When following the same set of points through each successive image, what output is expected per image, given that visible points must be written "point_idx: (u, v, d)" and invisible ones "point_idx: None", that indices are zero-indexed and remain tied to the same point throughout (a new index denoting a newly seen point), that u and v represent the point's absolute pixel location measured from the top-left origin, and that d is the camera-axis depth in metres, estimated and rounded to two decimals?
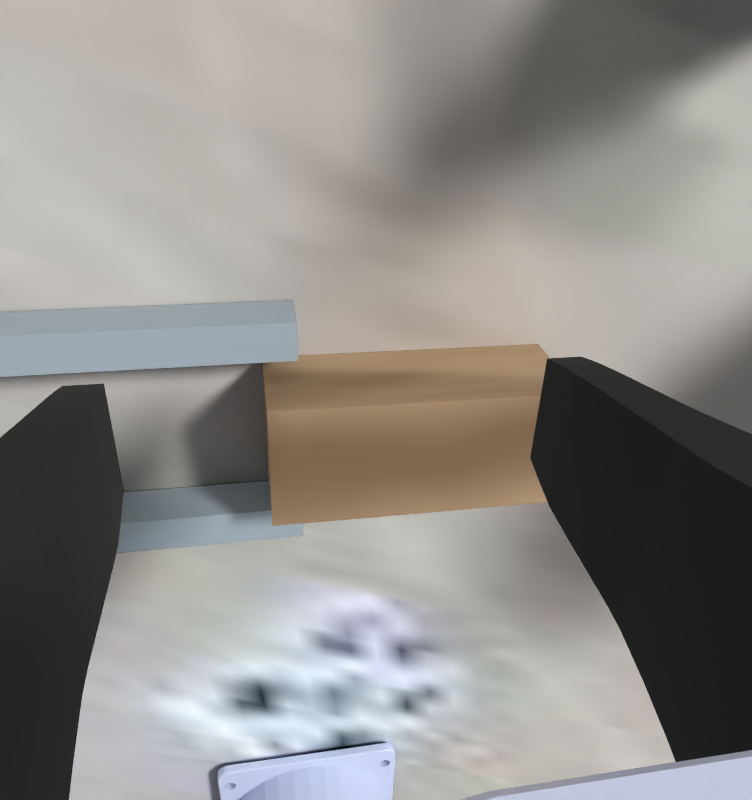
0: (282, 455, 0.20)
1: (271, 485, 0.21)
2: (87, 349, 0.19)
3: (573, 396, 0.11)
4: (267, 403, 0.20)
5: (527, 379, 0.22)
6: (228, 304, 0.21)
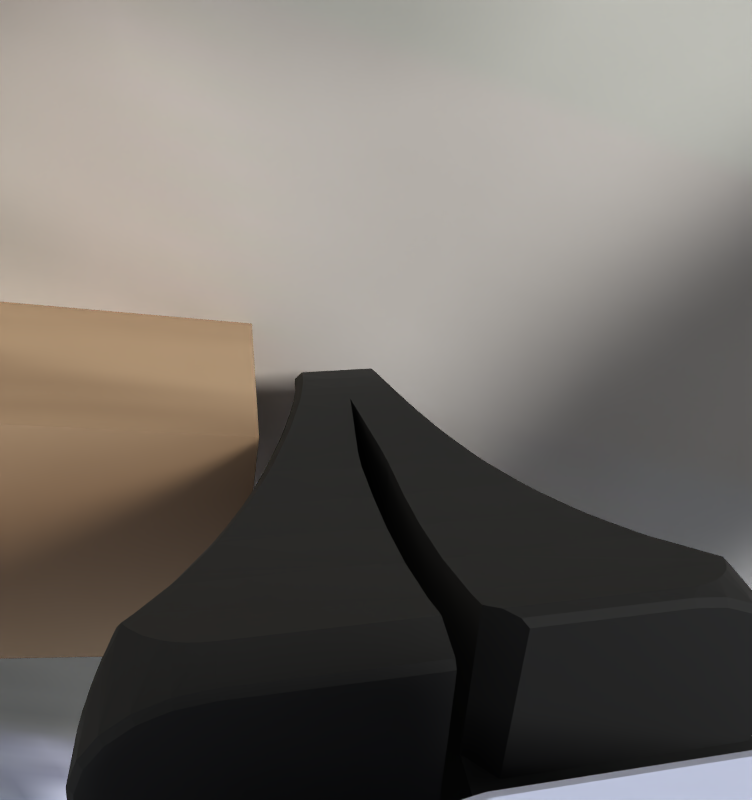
0: None
1: None
2: None
3: None
4: None
5: (165, 393, 0.10)
6: None
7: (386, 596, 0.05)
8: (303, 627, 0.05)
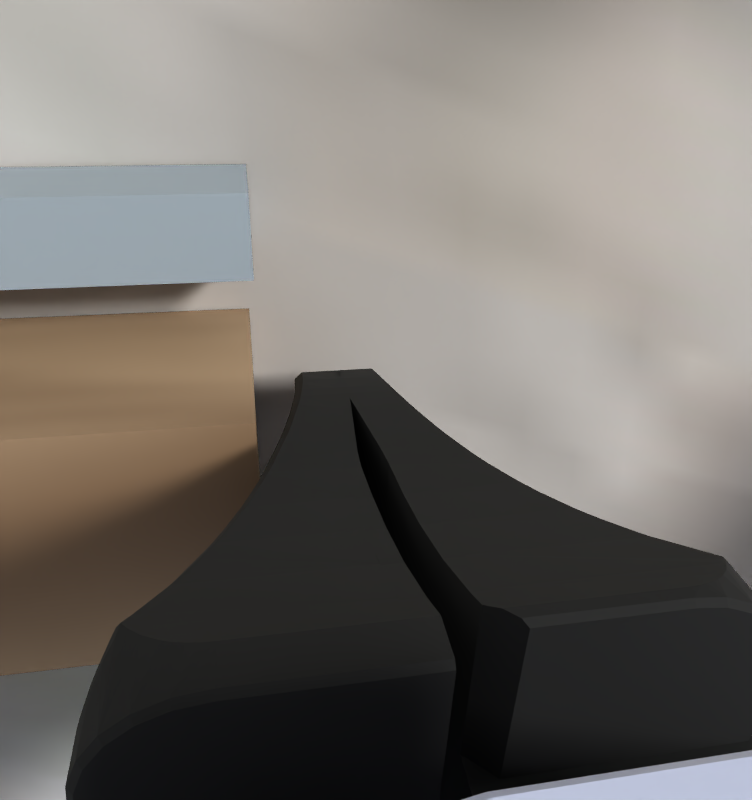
0: None
1: None
2: None
3: None
4: None
5: (160, 390, 0.10)
6: (113, 167, 0.10)
7: (386, 596, 0.05)
8: (301, 627, 0.05)
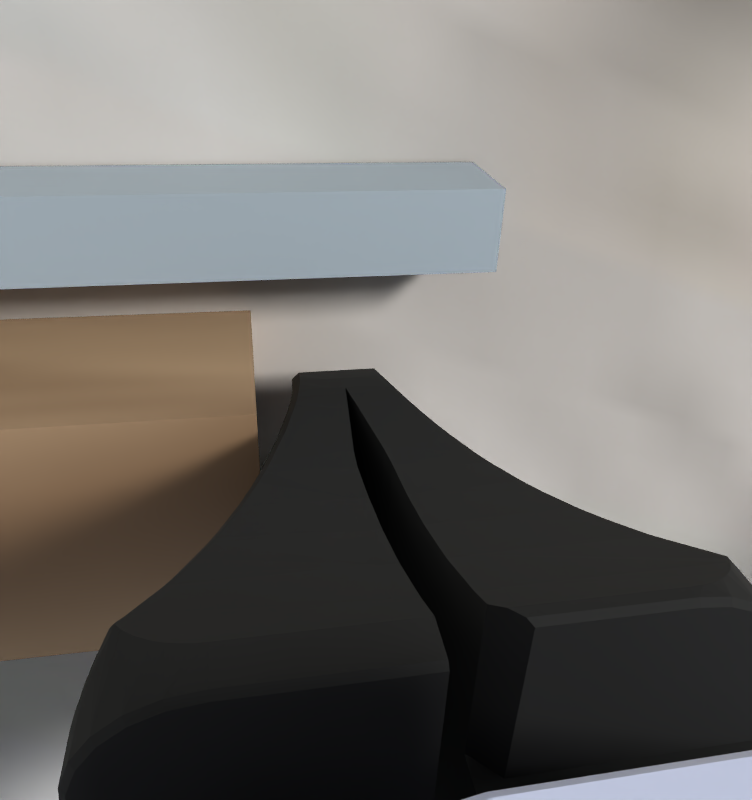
0: None
1: None
2: (80, 235, 0.09)
3: None
4: None
5: (163, 383, 0.10)
6: (355, 164, 0.11)
7: (380, 596, 0.05)
8: (296, 628, 0.05)
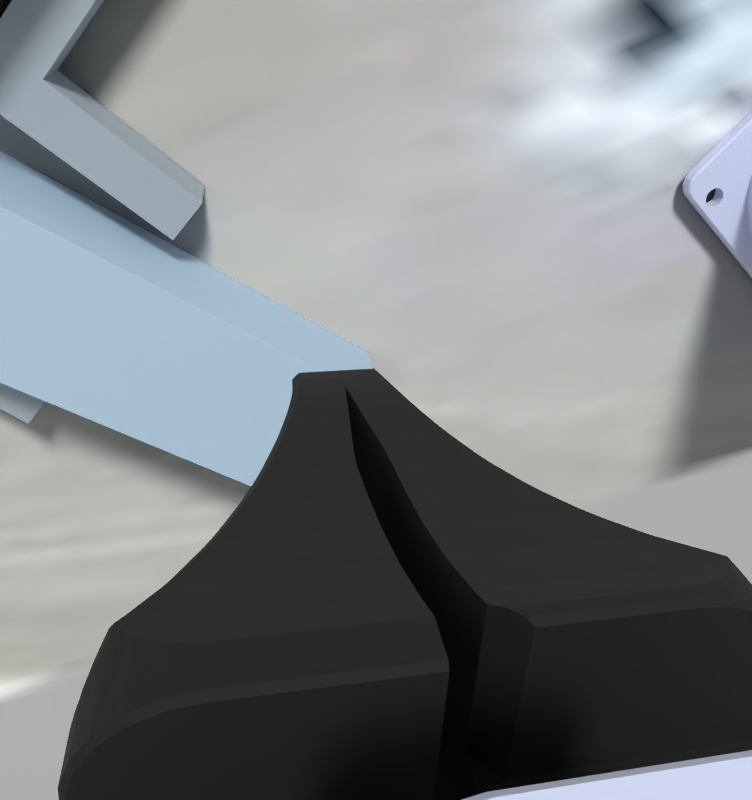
0: None
1: None
2: None
3: None
4: None
5: None
6: None
7: (380, 597, 0.05)
8: (296, 629, 0.05)
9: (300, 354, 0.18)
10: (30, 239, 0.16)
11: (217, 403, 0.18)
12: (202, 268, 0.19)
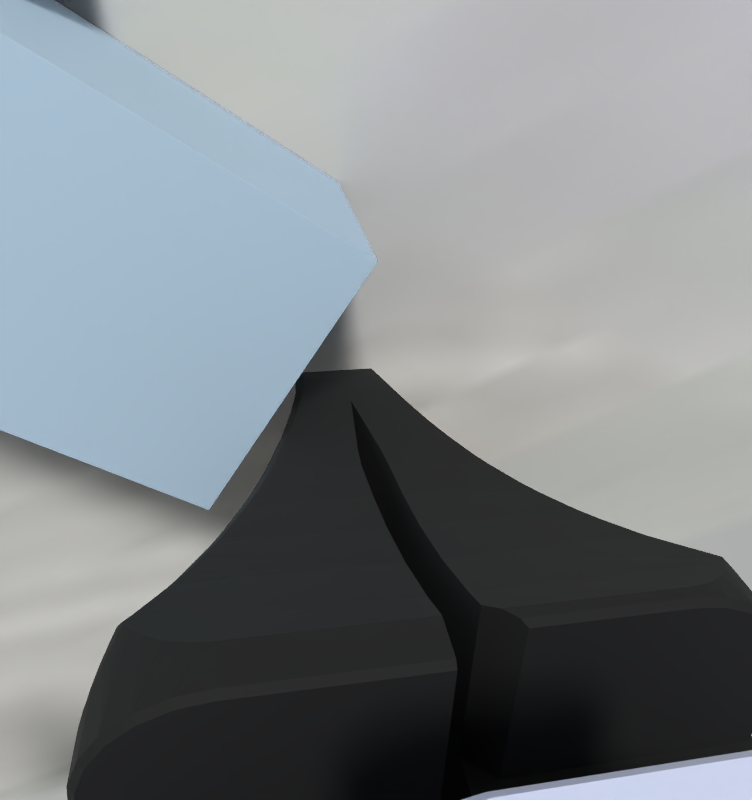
0: None
1: None
2: None
3: None
4: None
5: None
6: None
7: (387, 596, 0.05)
8: (303, 627, 0.05)
9: (157, 120, 0.07)
10: None
11: None
12: None
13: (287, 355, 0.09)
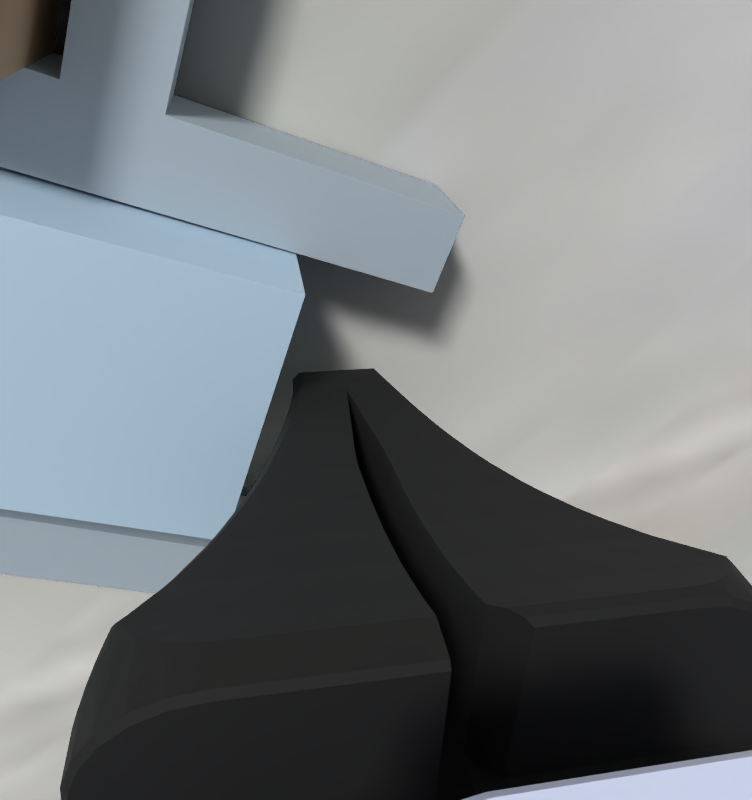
0: None
1: None
2: None
3: None
4: None
5: None
6: None
7: (381, 597, 0.05)
8: (296, 629, 0.05)
9: (74, 223, 0.08)
10: None
11: None
12: None
13: (250, 395, 0.09)
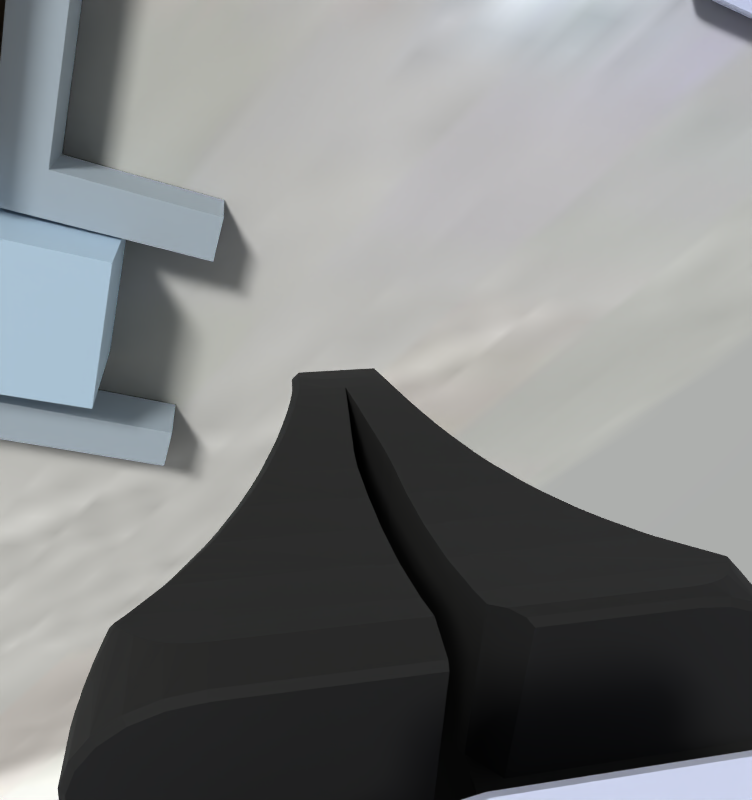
0: None
1: None
2: None
3: None
4: None
5: None
6: None
7: (380, 597, 0.05)
8: (296, 629, 0.05)
9: None
10: None
11: None
12: None
13: (91, 319, 0.17)
